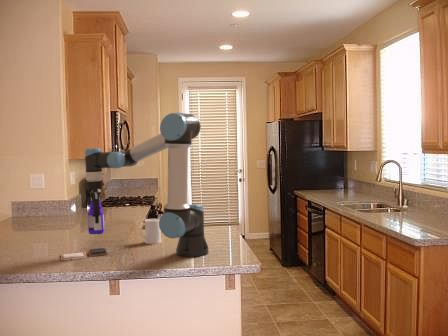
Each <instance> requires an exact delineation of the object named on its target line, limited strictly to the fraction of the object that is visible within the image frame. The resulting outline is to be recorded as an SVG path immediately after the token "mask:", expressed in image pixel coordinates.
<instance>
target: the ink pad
mask: <svg viewBox="0 0 448 336" xmlns="http://www.w3.org/2000/svg"><path fill="white" fill-rule="evenodd" d="M87 253H88V255H89V258H91V257H92V258H93V257H100V256H101V257H102V256H108V251H107V250H106V248H105V247H98V248H97V247H96V248H89V250H88V251H87Z"/></svg>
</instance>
